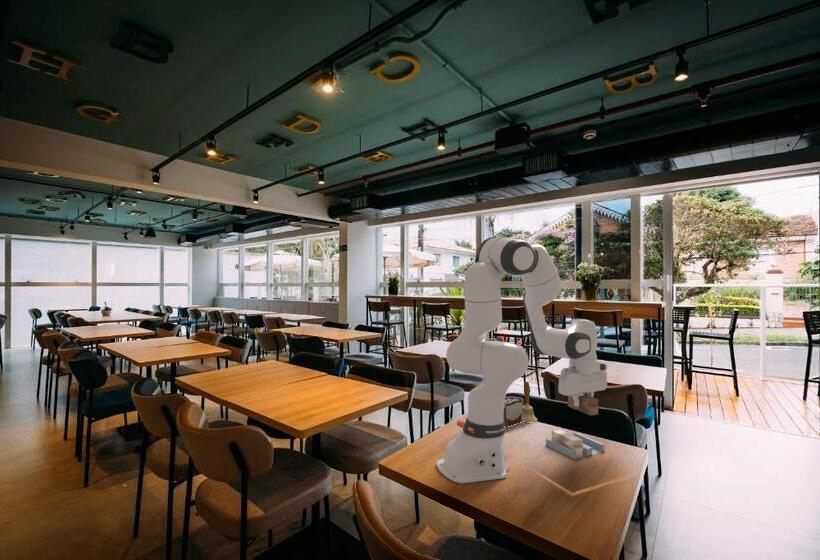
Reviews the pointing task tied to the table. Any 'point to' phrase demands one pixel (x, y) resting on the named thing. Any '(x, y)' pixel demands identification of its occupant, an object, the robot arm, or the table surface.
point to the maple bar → (568, 441)
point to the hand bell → (527, 406)
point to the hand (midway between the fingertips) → (582, 405)
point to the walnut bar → (585, 404)
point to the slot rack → (588, 449)
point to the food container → (512, 410)
